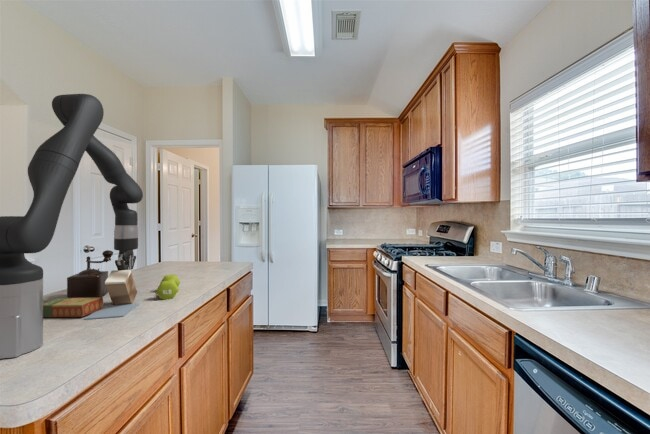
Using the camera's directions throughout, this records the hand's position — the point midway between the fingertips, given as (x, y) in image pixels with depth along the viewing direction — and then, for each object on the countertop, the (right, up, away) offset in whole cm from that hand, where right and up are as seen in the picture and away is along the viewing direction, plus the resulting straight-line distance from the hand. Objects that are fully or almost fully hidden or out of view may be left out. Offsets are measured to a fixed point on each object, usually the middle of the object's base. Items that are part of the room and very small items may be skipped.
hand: (125, 282), depth 106 cm
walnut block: (0, -6, 0) cm, 6 cm away
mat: (+3, -8, -10) cm, 13 cm away
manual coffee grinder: (-21, -8, +10) cm, 25 cm away
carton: (-10, -8, -12) cm, 18 cm away
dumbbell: (+10, -8, +11) cm, 17 cm away
